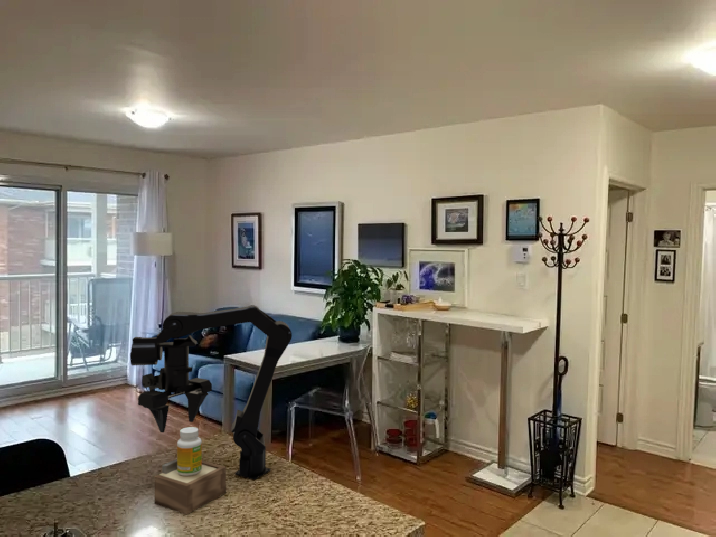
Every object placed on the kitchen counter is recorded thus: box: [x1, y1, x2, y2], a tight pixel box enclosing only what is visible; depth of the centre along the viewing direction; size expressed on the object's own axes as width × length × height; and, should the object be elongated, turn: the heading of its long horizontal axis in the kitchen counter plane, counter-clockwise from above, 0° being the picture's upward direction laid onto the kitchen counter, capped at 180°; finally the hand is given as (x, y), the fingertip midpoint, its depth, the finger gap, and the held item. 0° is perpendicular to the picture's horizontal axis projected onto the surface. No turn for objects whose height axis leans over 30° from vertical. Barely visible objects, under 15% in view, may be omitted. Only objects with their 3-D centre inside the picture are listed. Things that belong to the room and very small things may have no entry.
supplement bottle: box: [176, 426, 203, 476], centre depth 126 cm, size 5×5×10 cm
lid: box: [158, 458, 217, 483], centre depth 126 cm, size 9×9×2 cm
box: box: [153, 460, 227, 515], centre depth 126 cm, size 12×10×6 cm
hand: (177, 426), depth 136 cm, fingers open, 9 cm apart
